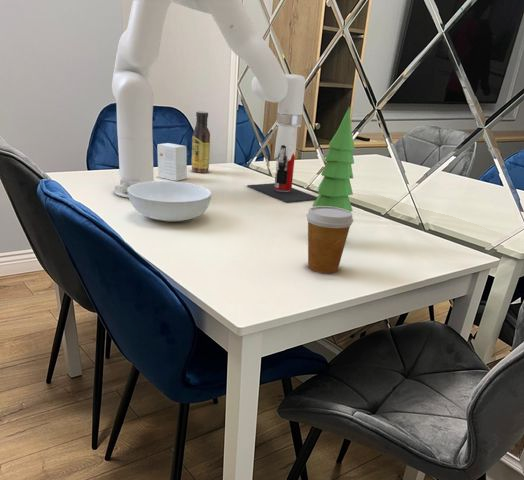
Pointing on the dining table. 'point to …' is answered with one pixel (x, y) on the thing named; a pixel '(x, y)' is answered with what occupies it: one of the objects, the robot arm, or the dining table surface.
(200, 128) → the sauce bottle
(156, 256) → the dining table surface
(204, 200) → the serving bowl
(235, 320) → the dining table surface
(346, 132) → the decorative tree
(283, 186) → the soda can
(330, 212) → the disposable coffee cup
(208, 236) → the dining table surface
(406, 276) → the dining table surface
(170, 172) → the small box
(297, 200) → the placemat
